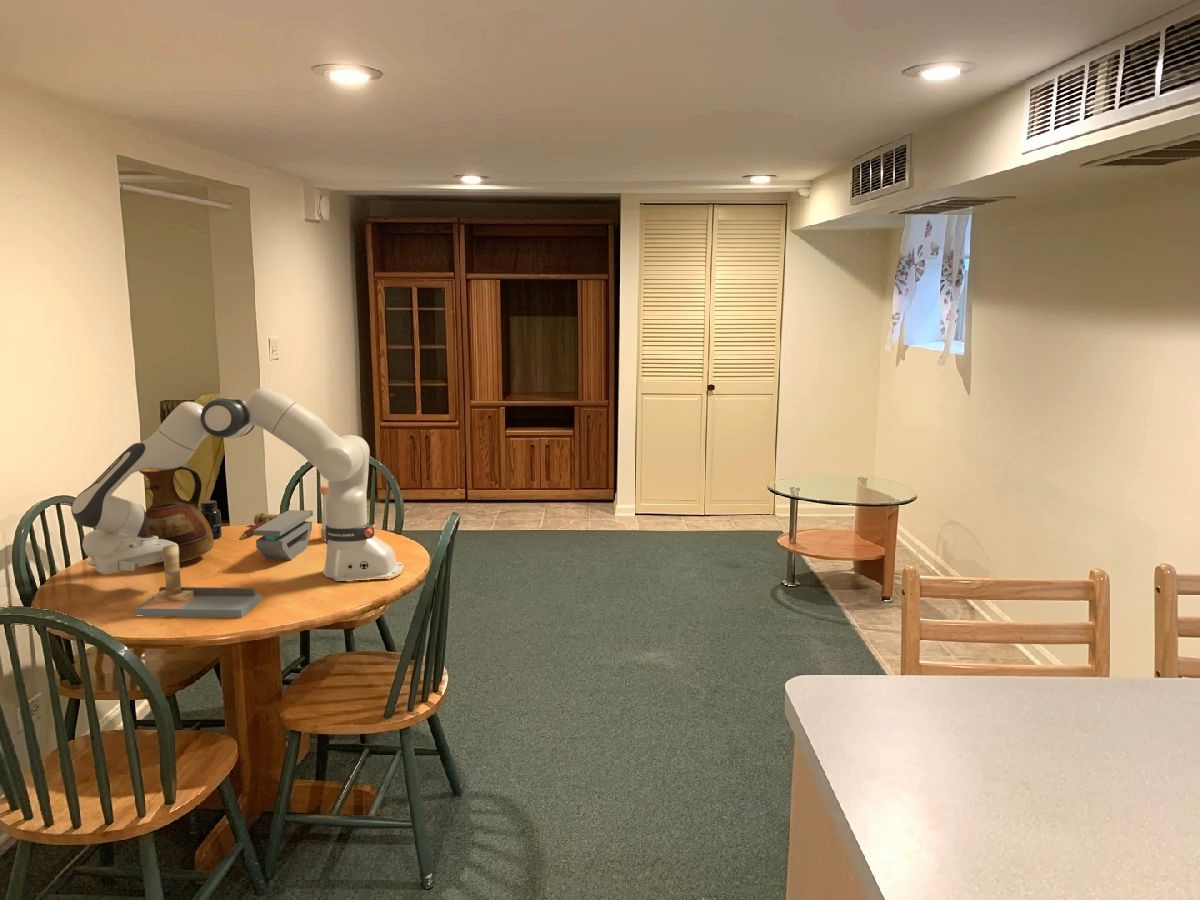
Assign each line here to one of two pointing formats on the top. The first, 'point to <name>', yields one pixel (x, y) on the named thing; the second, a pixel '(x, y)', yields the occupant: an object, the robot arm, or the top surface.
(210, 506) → the supplement bottle
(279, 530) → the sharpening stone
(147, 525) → the ceramic pitcher
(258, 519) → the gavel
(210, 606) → the board
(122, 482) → the robot arm
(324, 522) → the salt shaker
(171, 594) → the beige post stand
